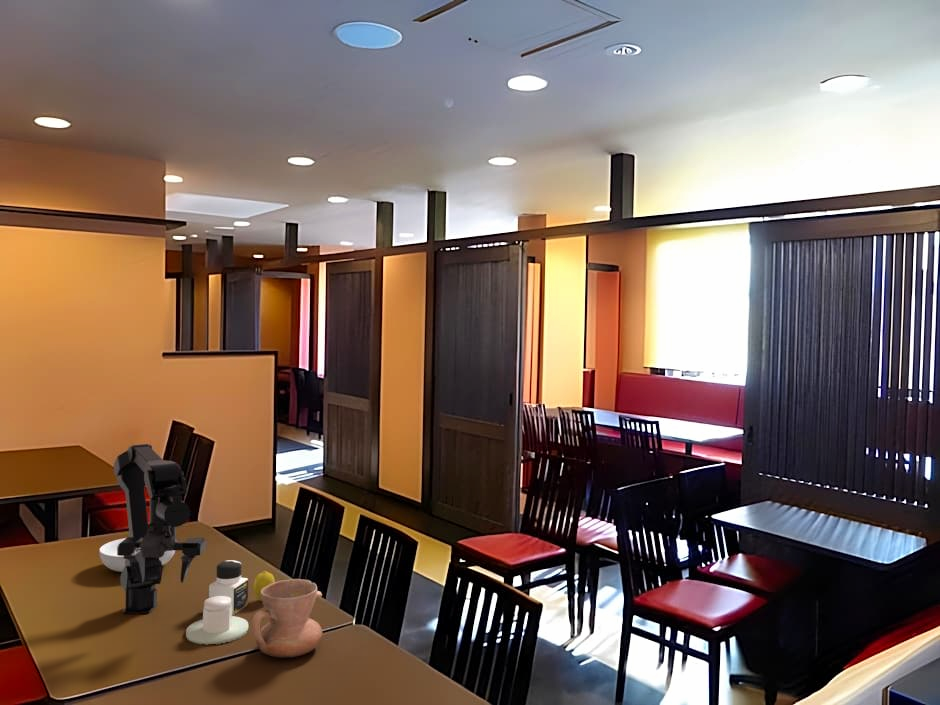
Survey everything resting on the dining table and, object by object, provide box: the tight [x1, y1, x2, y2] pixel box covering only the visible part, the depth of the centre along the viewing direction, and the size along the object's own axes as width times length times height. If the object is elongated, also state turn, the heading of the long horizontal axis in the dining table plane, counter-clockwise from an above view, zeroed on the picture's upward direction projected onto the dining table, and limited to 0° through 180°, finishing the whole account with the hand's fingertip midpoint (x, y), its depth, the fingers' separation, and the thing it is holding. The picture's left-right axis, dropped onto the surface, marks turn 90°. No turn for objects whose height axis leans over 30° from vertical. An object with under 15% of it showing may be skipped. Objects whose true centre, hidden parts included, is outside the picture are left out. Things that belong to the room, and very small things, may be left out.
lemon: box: [253, 570, 276, 600], centre depth 190 cm, size 6×6×8 cm
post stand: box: [185, 615, 249, 646], centre depth 171 cm, size 14×14×6 cm
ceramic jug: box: [251, 578, 323, 659], centre depth 162 cm, size 18×14×14 cm
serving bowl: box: [99, 537, 176, 573], centre depth 213 cm, size 21×21×7 cm
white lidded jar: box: [202, 596, 233, 633], centre depth 171 cm, size 6×6×6 cm
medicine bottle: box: [208, 559, 249, 616], centre depth 185 cm, size 7×7×12 cm
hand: (162, 582), depth 170 cm, fingers open, 9 cm apart
